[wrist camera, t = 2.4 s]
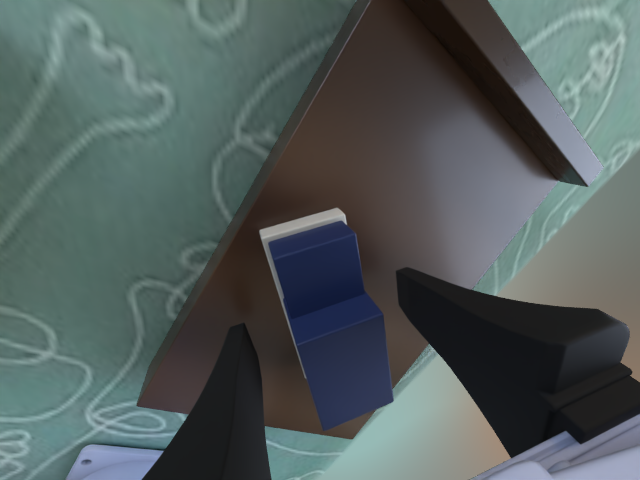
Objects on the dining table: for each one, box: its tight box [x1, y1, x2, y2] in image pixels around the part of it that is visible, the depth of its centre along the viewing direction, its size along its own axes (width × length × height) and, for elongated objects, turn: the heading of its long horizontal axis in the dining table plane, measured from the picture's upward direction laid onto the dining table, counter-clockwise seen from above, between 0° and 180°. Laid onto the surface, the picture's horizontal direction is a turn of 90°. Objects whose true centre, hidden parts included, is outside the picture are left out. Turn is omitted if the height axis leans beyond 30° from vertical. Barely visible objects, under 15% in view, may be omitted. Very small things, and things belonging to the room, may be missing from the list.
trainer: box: [259, 208, 394, 431], centre depth 13 cm, size 8×4×4 cm, turn 12°
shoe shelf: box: [137, 0, 603, 439], centre depth 15 cm, size 22×14×4 cm, turn 147°
